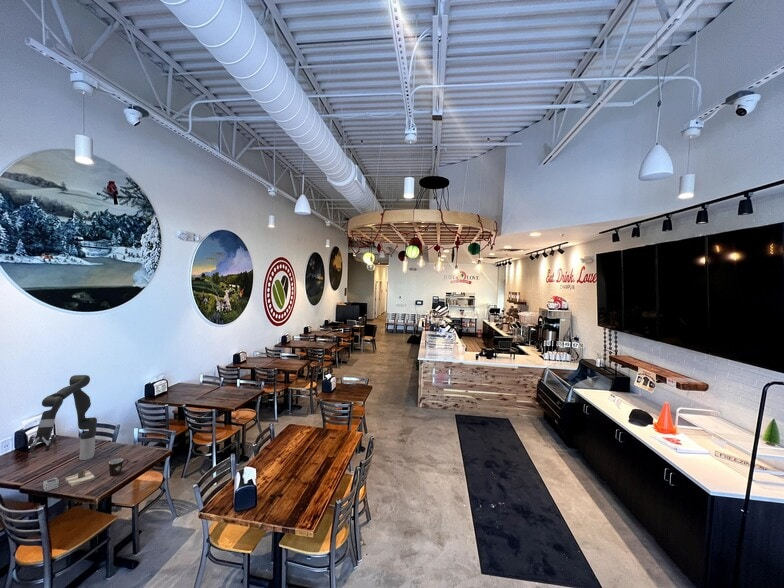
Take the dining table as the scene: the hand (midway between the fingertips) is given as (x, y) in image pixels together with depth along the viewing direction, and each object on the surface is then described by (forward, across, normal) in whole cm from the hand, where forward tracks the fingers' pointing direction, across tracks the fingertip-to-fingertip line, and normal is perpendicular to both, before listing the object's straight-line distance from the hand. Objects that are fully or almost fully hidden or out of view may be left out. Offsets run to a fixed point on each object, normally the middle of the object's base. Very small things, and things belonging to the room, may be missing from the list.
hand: (39, 452), depth 221 cm
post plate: (+22, -12, -29) cm, 38 cm away
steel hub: (+25, 0, -20) cm, 32 cm away
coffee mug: (+22, -34, -33) cm, 52 cm away
